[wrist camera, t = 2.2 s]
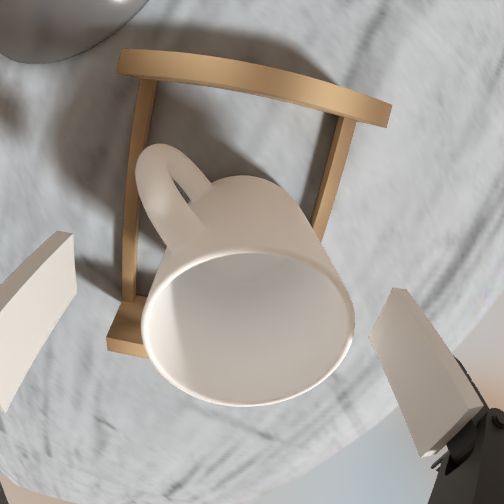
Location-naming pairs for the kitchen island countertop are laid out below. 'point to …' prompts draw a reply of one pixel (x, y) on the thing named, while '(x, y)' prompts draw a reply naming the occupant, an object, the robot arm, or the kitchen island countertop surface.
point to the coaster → (59, 26)
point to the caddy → (236, 79)
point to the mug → (237, 287)
